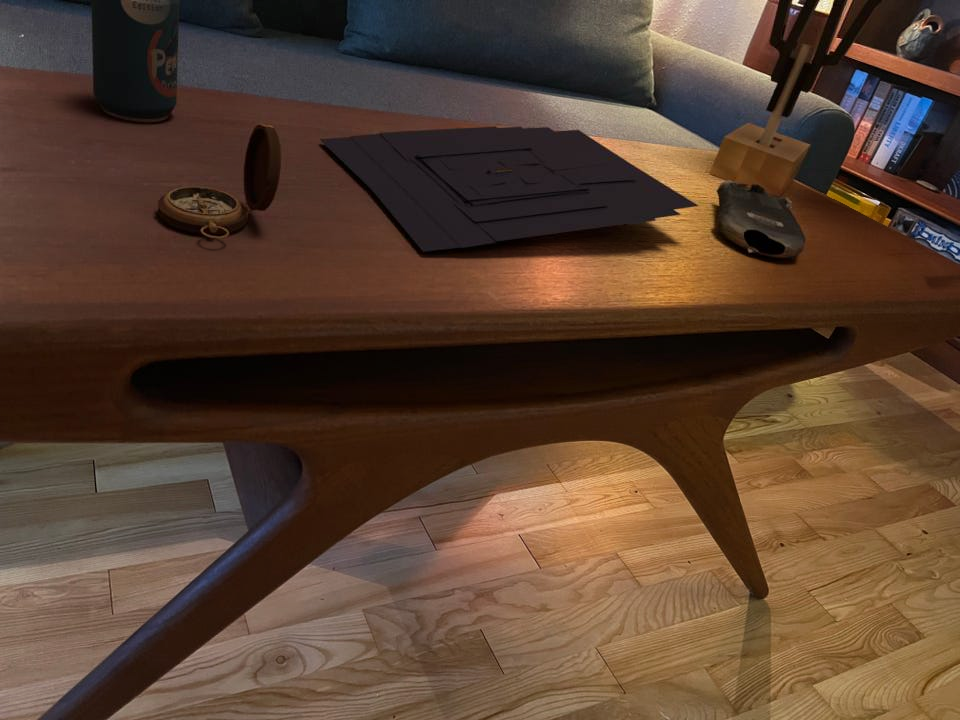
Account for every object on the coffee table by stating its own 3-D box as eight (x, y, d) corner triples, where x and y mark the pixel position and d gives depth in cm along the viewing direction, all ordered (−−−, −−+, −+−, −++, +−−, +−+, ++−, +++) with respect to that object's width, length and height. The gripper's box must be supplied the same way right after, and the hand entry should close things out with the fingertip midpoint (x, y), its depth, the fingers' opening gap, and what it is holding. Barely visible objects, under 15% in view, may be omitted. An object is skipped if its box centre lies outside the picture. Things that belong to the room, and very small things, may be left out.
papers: (704, 240, 75) (715, 205, 73) (421, 284, 61) (425, 242, 59) (564, 147, 91) (570, 116, 89) (317, 164, 78) (318, 129, 76)
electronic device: (699, 212, 92) (717, 240, 78) (722, 168, 90) (745, 188, 76) (770, 244, 92) (801, 278, 78) (796, 201, 90) (832, 228, 76)
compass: (149, 199, 57) (151, 100, 54) (257, 203, 61) (266, 111, 58) (167, 249, 52) (170, 143, 48) (285, 250, 56) (296, 151, 52)
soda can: (171, 129, 70) (175, -14, 64) (86, 116, 68) (82, -33, 62) (179, 107, 76) (184, -27, 70) (101, 94, 74) (98, -45, 67)
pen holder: (794, 178, 112) (810, 144, 109) (777, 199, 100) (794, 161, 97) (733, 156, 114) (747, 122, 112) (709, 173, 102) (724, 136, 100)
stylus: (763, 161, 104) (813, 46, 96) (761, 163, 103) (812, 47, 95) (753, 157, 104) (802, 43, 97) (751, 159, 103) (801, 43, 95)
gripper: (801, -114, 87) (718, 97, 99) (933, -80, 83) (829, 136, 95) (810, -106, 93) (731, 92, 105) (933, -75, 89) (836, 128, 101)
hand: (778, 112), depth 100 cm, fingers closed on stylus
